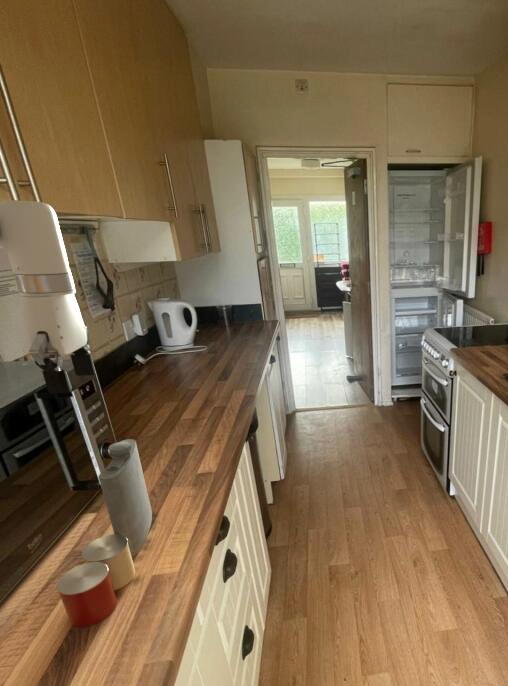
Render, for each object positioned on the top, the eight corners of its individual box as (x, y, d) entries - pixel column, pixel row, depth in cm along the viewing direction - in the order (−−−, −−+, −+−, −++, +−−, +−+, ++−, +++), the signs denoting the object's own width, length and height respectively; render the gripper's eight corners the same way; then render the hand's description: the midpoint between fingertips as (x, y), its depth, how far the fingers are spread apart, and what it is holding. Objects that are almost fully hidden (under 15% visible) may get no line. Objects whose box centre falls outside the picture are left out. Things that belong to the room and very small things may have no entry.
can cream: (83, 594, 73) (72, 562, 70) (103, 565, 79) (94, 535, 76) (125, 591, 73) (116, 560, 71) (142, 563, 80) (134, 533, 77)
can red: (59, 629, 66) (46, 595, 64) (83, 595, 73) (72, 562, 70) (105, 626, 67) (94, 592, 64) (125, 592, 73) (116, 560, 70)
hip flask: (137, 510, 94) (117, 428, 86) (157, 507, 96) (139, 426, 88) (118, 559, 80) (92, 467, 73) (142, 555, 82) (119, 464, 74)
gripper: (48, 279, 77) (73, 369, 84) (-15, 291, 62) (22, 401, 68) (93, 279, 79) (114, 368, 85) (43, 291, 63) (74, 399, 70)
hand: (73, 383), depth 77 cm, fingers open, 9 cm apart
